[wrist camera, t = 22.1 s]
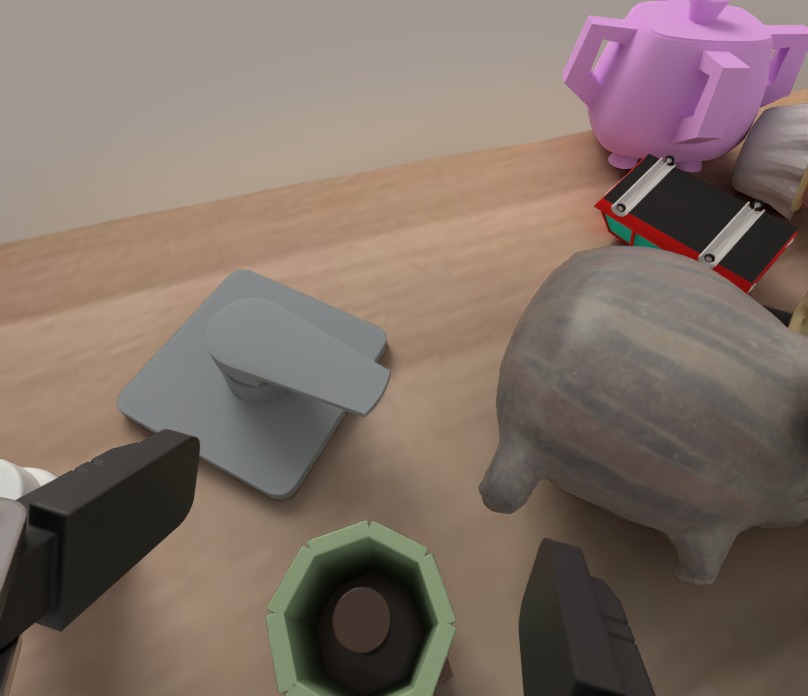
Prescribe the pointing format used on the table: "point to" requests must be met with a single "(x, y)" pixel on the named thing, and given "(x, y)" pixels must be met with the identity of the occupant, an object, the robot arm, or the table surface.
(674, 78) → the pot
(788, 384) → the piggy bank
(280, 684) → the sleeve
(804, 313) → the figurine
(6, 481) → the pill bottle
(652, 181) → the toy car
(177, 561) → the table surface
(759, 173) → the cupcake
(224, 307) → the shower valve
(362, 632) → the peg stand
